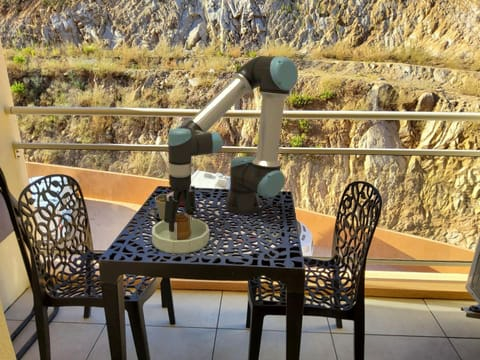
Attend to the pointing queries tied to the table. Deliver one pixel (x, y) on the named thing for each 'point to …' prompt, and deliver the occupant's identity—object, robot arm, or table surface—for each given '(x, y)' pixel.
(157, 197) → the flower pot
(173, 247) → the bowl
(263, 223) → the table surface
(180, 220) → the ornamental finial
